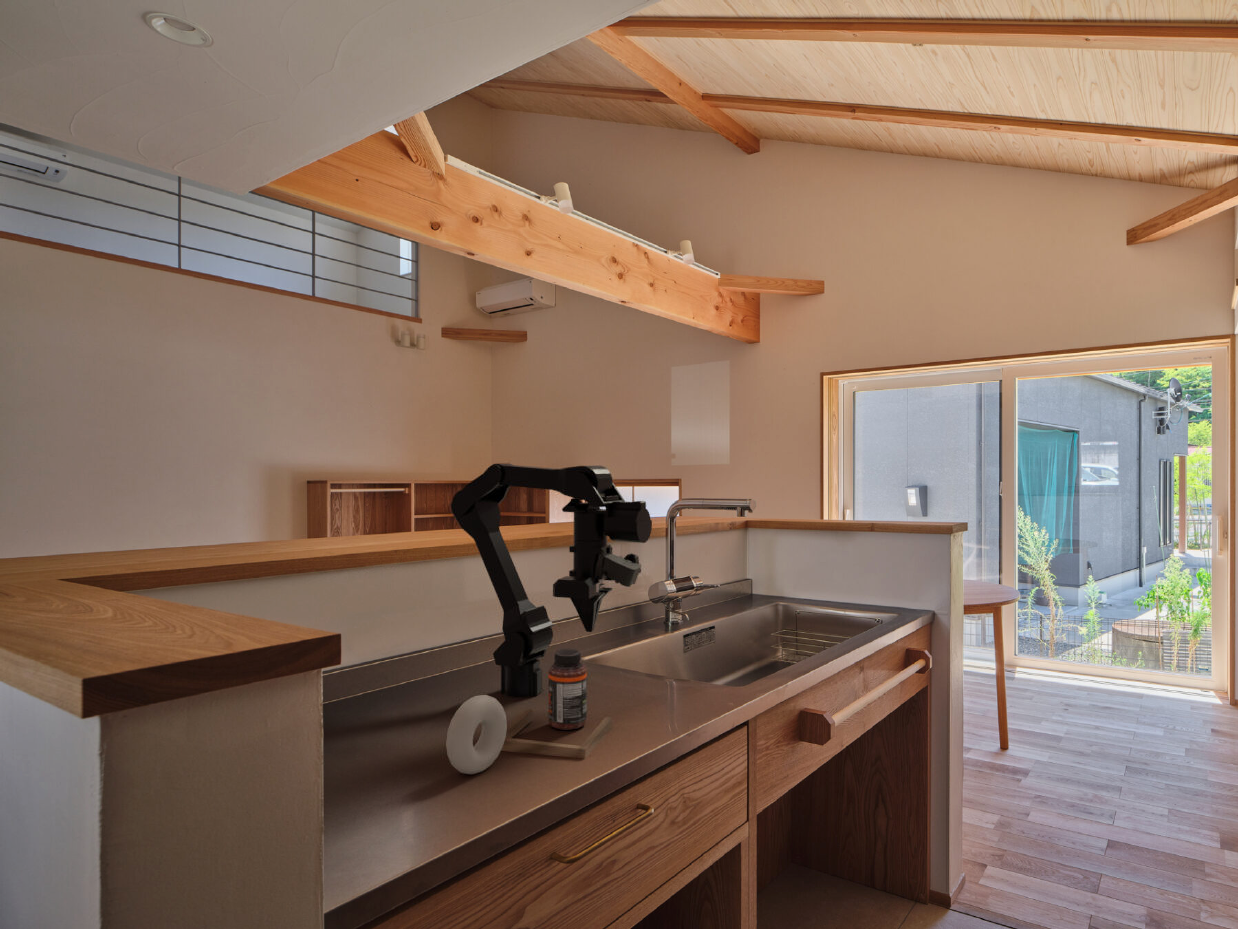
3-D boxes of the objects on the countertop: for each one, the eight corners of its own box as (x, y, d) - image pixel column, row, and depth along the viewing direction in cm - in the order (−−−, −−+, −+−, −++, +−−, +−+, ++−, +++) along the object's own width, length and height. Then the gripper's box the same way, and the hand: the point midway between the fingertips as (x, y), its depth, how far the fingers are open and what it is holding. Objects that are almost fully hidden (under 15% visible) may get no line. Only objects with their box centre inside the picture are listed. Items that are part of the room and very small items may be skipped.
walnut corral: (491, 749, 105) (491, 738, 105) (527, 718, 117) (527, 709, 117) (585, 760, 101) (585, 749, 101) (612, 727, 114) (612, 717, 114)
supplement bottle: (547, 718, 118) (548, 647, 118) (585, 716, 118) (585, 646, 118) (548, 732, 112) (548, 657, 112) (588, 730, 112) (588, 656, 112)
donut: (459, 789, 92) (459, 709, 92) (440, 783, 94) (440, 704, 94) (512, 761, 101) (512, 688, 101) (493, 756, 102) (493, 684, 102)
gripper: (618, 547, 114) (617, 649, 114) (651, 535, 132) (650, 623, 132) (551, 544, 117) (551, 643, 118) (592, 533, 135) (591, 618, 135)
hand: (589, 631), depth 126 cm, fingers closed
